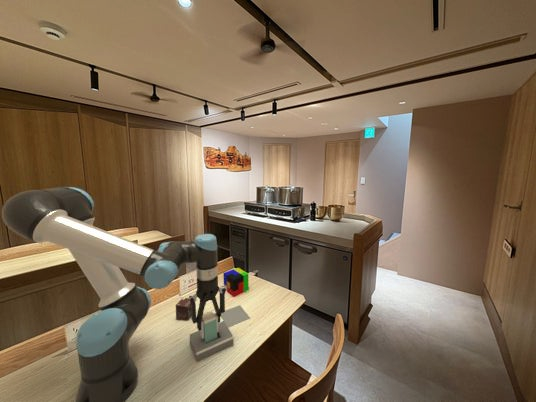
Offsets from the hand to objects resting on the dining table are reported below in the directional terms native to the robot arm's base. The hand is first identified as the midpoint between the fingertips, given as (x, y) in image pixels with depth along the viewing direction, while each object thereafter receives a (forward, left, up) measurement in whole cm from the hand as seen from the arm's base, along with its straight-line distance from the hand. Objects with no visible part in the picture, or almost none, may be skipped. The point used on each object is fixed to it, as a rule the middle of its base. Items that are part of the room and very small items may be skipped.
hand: (209, 333), depth 81 cm
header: (+1, 0, -5) cm, 5 cm away
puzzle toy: (+25, +30, -6) cm, 39 cm away
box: (-4, +22, -6) cm, 23 cm away
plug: (0, 0, -5) cm, 5 cm away
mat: (+15, +10, -5) cm, 19 cm away
